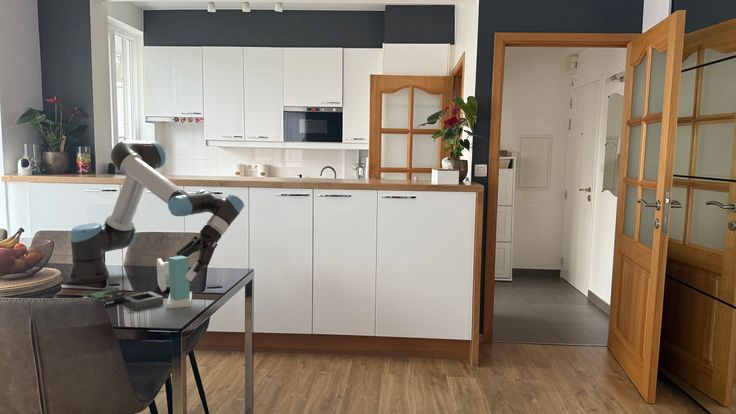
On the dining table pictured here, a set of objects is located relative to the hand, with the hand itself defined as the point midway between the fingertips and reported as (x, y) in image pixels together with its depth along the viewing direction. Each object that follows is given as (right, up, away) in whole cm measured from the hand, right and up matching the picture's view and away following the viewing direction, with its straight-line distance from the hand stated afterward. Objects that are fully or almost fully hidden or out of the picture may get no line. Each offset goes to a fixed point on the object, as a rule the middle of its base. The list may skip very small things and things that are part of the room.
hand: (178, 275), depth 190 cm
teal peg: (0, -8, +1) cm, 8 cm away
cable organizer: (-10, -8, +21) cm, 24 cm away
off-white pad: (0, -10, +2) cm, 10 cm away
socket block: (-12, -10, -2) cm, 16 cm away
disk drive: (-27, -10, +4) cm, 29 cm away
